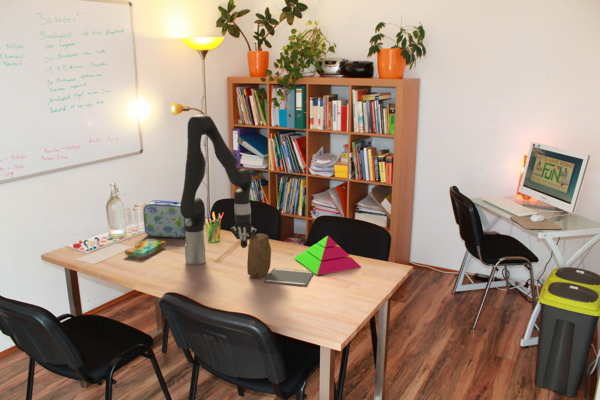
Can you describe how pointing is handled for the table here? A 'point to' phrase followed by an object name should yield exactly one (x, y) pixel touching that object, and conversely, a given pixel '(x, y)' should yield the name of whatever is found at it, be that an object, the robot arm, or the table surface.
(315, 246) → the pyramid toy
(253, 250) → the brown rounded elongated part
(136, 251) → the puzzle game
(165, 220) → the lunch box
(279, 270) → the mat
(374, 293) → the table surface
